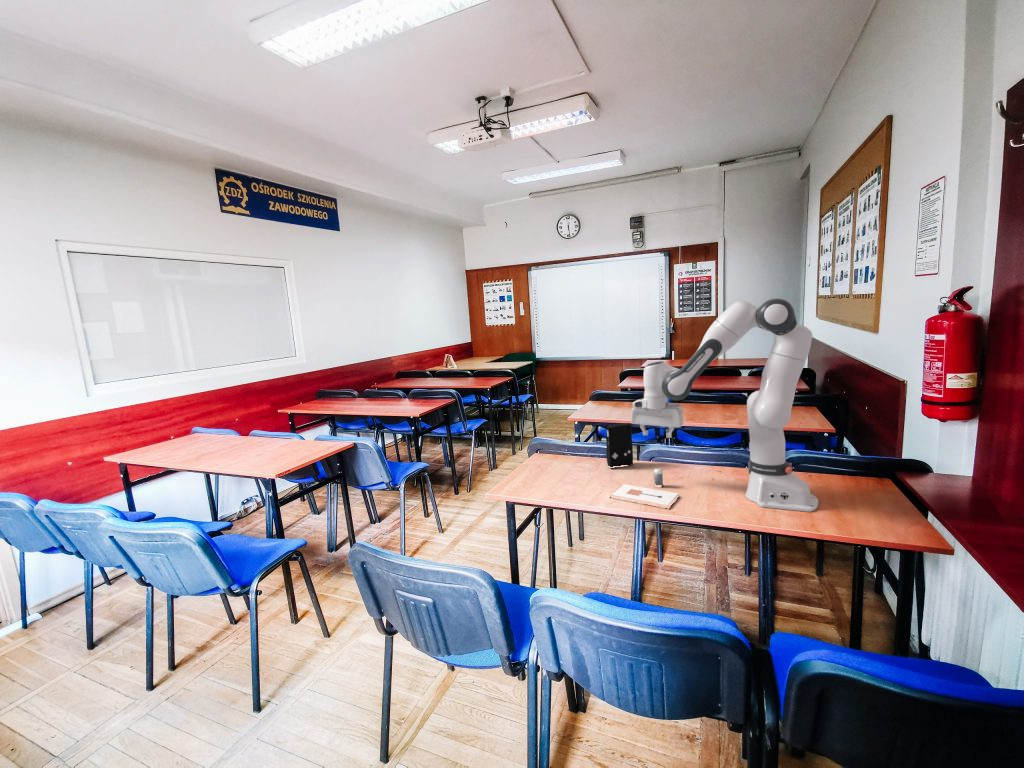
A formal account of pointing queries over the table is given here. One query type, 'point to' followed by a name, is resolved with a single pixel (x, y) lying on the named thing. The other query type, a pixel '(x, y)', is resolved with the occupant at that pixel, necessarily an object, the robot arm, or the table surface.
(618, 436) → the handheld gaming console
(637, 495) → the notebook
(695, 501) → the table surface
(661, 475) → the white-topped grey cylinder
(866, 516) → the table surface
